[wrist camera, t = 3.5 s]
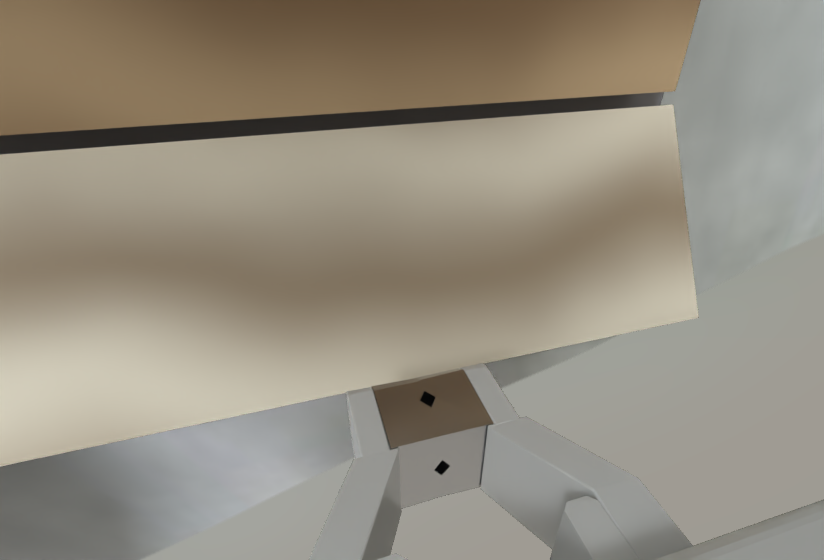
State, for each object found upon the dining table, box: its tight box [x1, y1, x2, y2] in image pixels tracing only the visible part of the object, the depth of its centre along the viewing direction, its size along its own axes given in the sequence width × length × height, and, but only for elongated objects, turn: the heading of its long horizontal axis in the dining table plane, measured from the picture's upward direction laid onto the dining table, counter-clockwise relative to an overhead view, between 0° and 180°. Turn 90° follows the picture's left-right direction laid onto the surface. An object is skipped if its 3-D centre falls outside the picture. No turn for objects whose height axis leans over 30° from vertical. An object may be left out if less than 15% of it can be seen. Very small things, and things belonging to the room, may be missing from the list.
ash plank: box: [0, 105, 699, 466], centre depth 13 cm, size 7×21×2 cm, turn 91°
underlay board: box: [0, 92, 664, 155], centre depth 14 cm, size 16×23×1 cm
